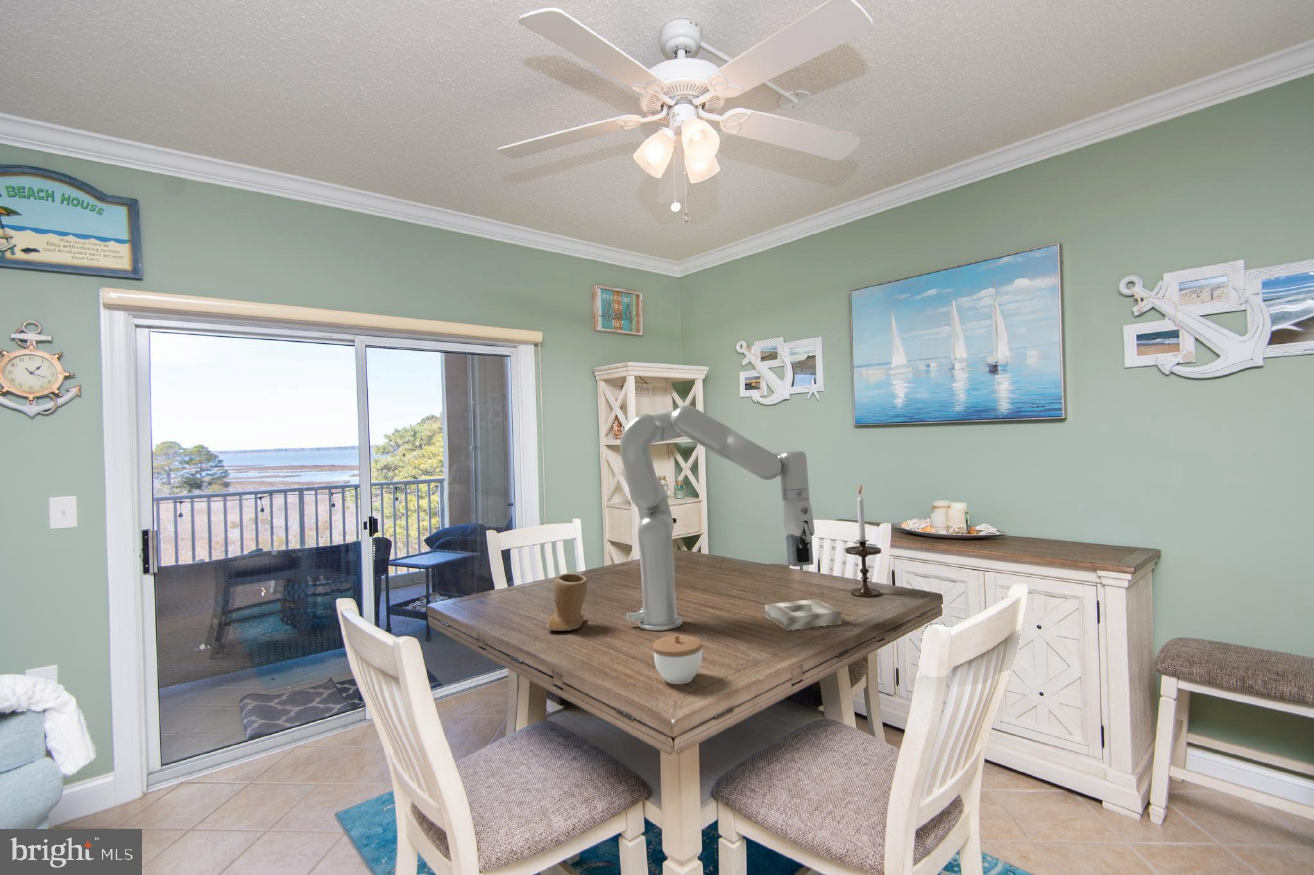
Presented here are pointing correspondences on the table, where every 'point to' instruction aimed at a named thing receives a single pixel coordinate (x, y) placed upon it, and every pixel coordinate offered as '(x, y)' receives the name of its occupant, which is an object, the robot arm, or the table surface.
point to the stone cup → (568, 602)
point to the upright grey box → (792, 552)
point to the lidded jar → (678, 658)
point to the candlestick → (863, 554)
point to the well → (802, 614)
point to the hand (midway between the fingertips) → (800, 560)
